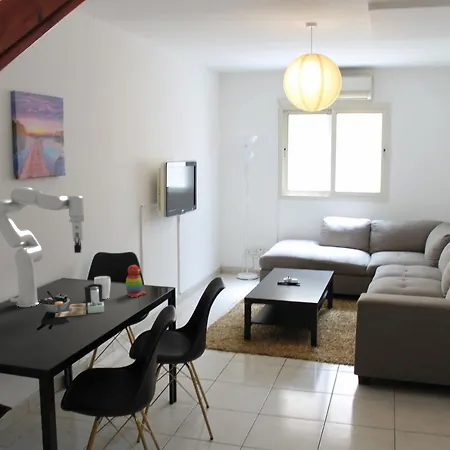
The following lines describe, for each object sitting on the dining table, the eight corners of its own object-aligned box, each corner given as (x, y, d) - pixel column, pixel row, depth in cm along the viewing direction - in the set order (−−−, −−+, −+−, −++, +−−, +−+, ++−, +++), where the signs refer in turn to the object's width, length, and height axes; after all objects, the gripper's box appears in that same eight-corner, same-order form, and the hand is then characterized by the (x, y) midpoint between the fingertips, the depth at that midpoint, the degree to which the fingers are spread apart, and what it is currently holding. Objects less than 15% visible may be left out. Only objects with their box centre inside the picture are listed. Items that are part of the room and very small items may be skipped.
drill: (91, 311, 284) (90, 288, 283) (92, 309, 288) (90, 287, 287) (99, 310, 285) (98, 287, 284) (100, 309, 289) (98, 286, 288)
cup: (112, 299, 313) (111, 278, 312) (96, 301, 310) (95, 279, 309) (109, 295, 322) (108, 275, 320) (93, 297, 318) (92, 276, 317)
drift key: (54, 312, 278) (54, 303, 278) (55, 310, 282) (55, 301, 281) (63, 311, 279) (62, 303, 279) (63, 309, 283) (63, 301, 282)
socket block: (54, 318, 276) (54, 306, 275) (56, 313, 285) (55, 302, 284) (86, 316, 279) (85, 304, 279) (86, 311, 288) (85, 300, 287)
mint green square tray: (88, 314, 282) (87, 306, 282) (88, 310, 290) (87, 303, 289) (104, 313, 284) (103, 305, 283) (103, 309, 292) (103, 302, 291)
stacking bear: (136, 298, 315) (135, 267, 313) (122, 296, 319) (120, 266, 317) (147, 294, 324) (146, 264, 322) (133, 292, 329) (131, 262, 327)
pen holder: (83, 303, 306) (82, 285, 305) (100, 300, 310) (99, 283, 309) (87, 306, 298) (86, 288, 297) (104, 304, 302) (104, 286, 301)
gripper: (83, 220, 285) (85, 253, 287) (84, 217, 301) (85, 248, 303) (68, 221, 283) (69, 254, 285) (69, 217, 300) (71, 249, 302)
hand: (78, 251), depth 294 cm, fingers open, 9 cm apart
